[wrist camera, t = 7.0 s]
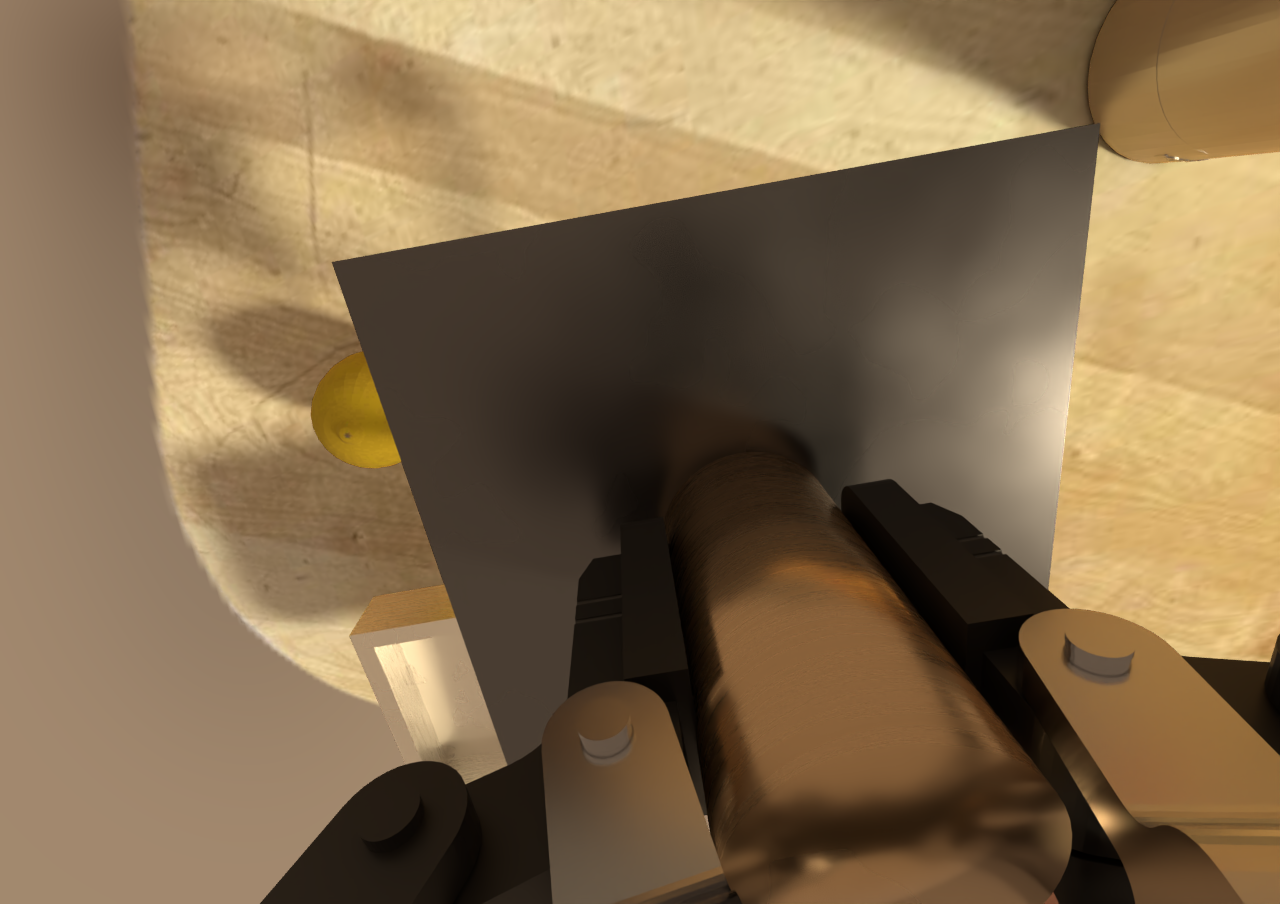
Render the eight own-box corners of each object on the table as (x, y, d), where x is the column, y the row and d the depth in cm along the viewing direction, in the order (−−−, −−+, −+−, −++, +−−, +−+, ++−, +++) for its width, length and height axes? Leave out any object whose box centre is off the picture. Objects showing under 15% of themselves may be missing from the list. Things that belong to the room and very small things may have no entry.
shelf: (426, 512, 35) (348, 635, 25) (933, 423, 35) (1072, 511, 24) (474, 651, 39) (425, 809, 29) (930, 573, 39) (1049, 705, 28)
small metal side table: (483, 236, 19) (-177, 346, 3) (835, 172, 18) (2059, -58, 3) (559, 540, 23) (444, 1238, 7) (848, 492, 23) (1367, 1109, 7)
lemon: (363, 432, 33) (292, 493, 26) (348, 334, 31) (267, 370, 24) (462, 433, 34) (419, 494, 26) (454, 336, 32) (405, 373, 24)
